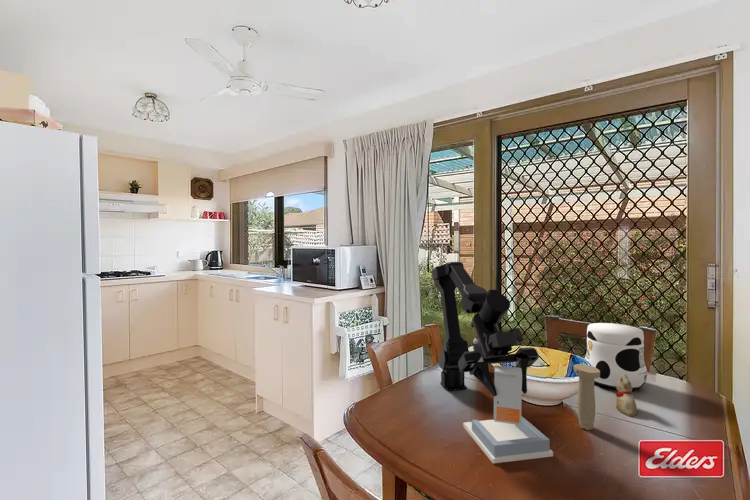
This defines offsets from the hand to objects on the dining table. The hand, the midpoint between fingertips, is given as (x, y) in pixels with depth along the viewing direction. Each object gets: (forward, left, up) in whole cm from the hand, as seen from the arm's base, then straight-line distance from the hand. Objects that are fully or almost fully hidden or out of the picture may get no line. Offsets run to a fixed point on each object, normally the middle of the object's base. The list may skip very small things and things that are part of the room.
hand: (510, 394), depth 86 cm
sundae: (-19, -46, -12) cm, 52 cm away
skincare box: (0, -1, -7) cm, 7 cm away
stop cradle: (0, -3, -12) cm, 12 cm away
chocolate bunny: (-41, -7, -12) cm, 44 cm away
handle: (-23, -2, -12) cm, 26 cm away
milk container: (-54, -23, -12) cm, 60 cm away
